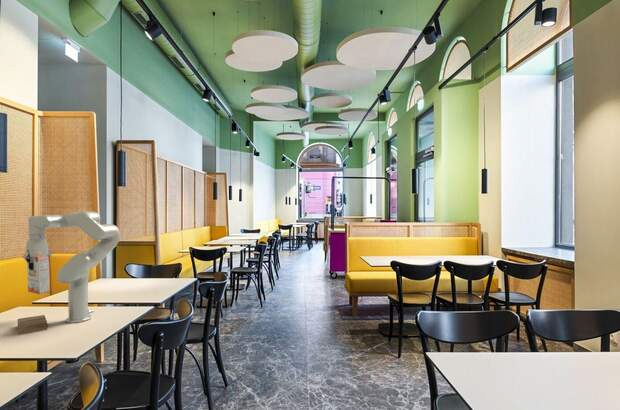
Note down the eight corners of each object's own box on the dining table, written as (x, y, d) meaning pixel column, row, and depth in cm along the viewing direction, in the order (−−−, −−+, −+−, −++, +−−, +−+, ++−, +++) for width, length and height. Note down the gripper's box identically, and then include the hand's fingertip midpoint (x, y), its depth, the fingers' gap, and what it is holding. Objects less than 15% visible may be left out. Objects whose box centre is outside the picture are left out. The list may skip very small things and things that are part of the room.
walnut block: (17, 326, 210) (17, 318, 210) (44, 321, 217) (44, 314, 217) (18, 334, 196) (18, 326, 196) (47, 329, 203) (47, 321, 203)
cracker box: (27, 292, 223) (26, 255, 224) (39, 290, 228) (38, 254, 229) (38, 294, 216) (37, 256, 216) (50, 292, 221) (49, 255, 221)
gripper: (48, 236, 232) (49, 266, 232) (16, 238, 216) (17, 271, 216) (56, 236, 229) (57, 266, 228) (24, 238, 213) (25, 271, 213)
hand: (38, 268), depth 222 cm, fingers closed on cracker box, 6 cm apart
